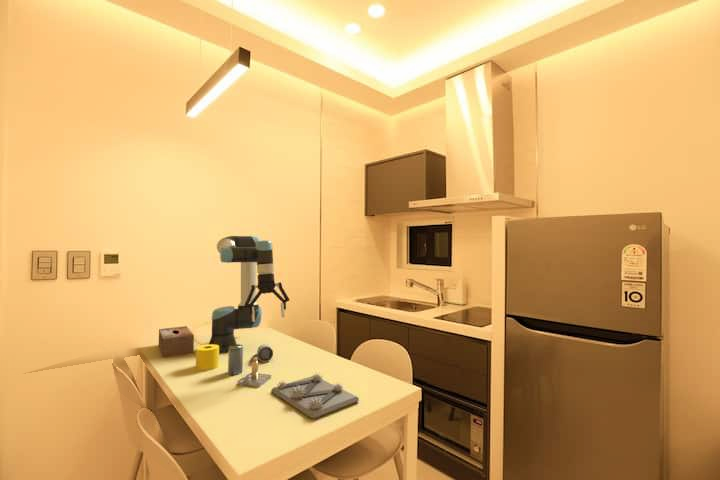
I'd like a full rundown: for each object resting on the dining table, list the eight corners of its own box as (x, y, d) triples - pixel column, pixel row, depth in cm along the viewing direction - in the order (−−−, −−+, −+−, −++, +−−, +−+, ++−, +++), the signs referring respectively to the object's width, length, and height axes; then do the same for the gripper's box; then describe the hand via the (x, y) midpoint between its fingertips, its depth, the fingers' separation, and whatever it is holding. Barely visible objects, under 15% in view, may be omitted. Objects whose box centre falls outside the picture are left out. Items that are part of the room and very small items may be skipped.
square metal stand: (250, 376, 150) (250, 353, 151) (270, 378, 148) (271, 355, 148) (237, 384, 140) (237, 360, 141) (259, 387, 138) (259, 362, 138)
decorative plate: (360, 403, 126) (360, 384, 126) (312, 422, 111) (312, 400, 111) (314, 379, 148) (315, 363, 148) (269, 393, 134) (270, 375, 134)
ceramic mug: (271, 356, 178) (271, 341, 178) (273, 361, 170) (273, 345, 171) (250, 359, 174) (250, 344, 174) (251, 364, 166) (251, 348, 167)
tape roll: (198, 372, 154) (199, 351, 154) (193, 366, 162) (193, 346, 162) (221, 367, 160) (221, 347, 161) (215, 362, 168) (215, 343, 168)
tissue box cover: (158, 346, 195) (159, 329, 195) (186, 342, 203) (186, 326, 204) (162, 358, 174) (163, 339, 174) (193, 353, 182) (193, 335, 182)
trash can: (234, 369, 159) (235, 343, 159) (245, 370, 157) (246, 344, 158) (224, 374, 151) (225, 348, 152) (235, 376, 150) (236, 349, 150)
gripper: (239, 275, 149) (241, 324, 147) (293, 271, 161) (297, 315, 159) (236, 275, 156) (239, 322, 154) (289, 271, 168) (292, 314, 166)
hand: (268, 319), depth 156 cm, fingers open, 13 cm apart
